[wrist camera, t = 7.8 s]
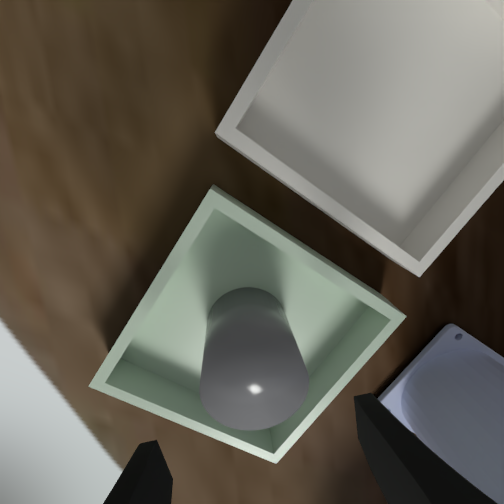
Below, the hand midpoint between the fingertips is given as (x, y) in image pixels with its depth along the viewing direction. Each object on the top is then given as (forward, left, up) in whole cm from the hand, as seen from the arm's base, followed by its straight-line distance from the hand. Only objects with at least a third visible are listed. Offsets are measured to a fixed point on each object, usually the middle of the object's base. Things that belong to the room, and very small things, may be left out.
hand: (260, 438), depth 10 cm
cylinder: (0, 0, -7) cm, 7 cm away
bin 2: (0, 0, -8) cm, 8 cm away
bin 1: (+1, -14, -8) cm, 16 cm away
